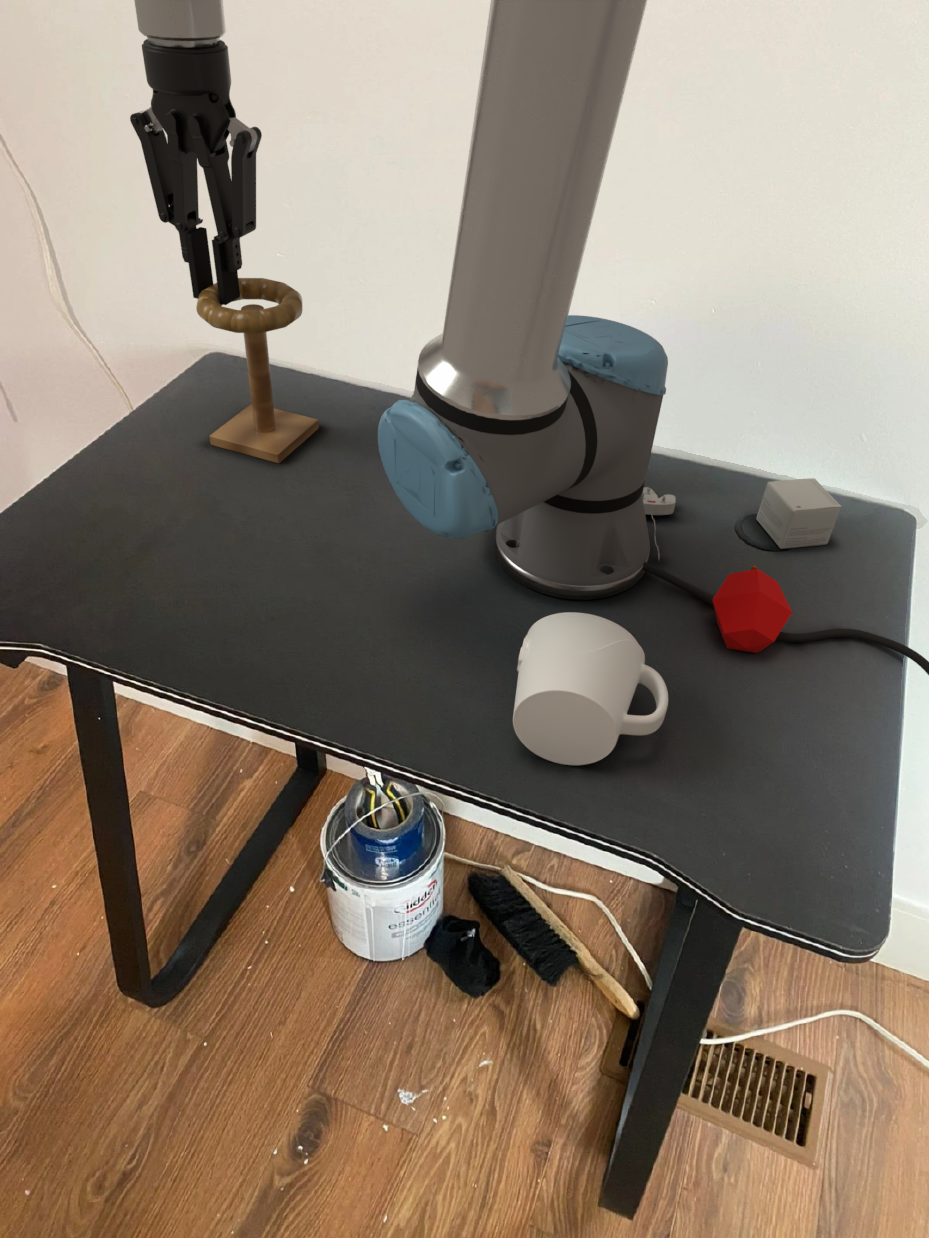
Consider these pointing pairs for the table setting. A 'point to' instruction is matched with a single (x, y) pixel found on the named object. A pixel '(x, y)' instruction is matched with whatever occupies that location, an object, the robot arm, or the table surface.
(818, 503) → the small box
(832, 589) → the table surface
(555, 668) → the mug
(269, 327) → the ring
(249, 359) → the peg stand
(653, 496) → the game controller
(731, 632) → the apple
